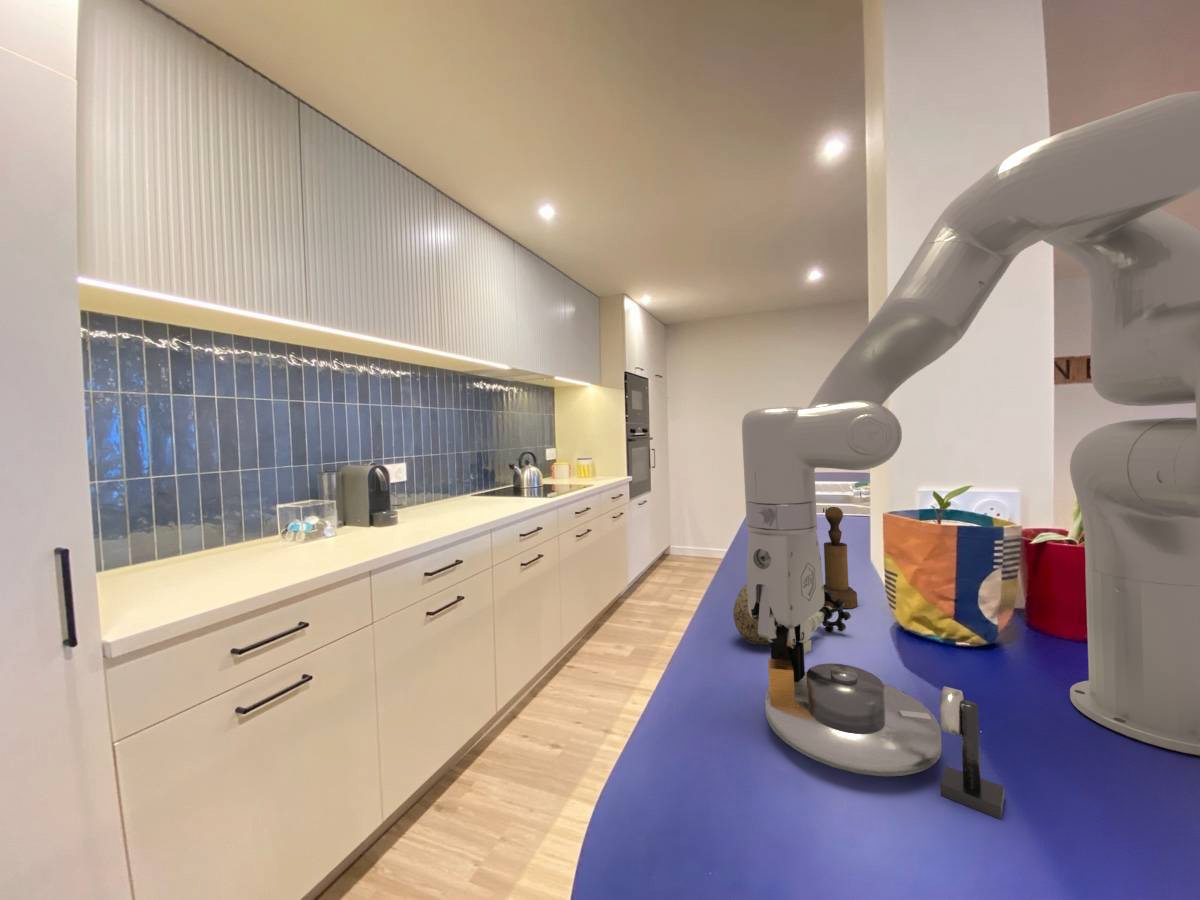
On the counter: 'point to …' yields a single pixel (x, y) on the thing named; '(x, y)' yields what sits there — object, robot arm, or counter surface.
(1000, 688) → the counter surface
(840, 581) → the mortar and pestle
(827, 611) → the valve
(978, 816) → the counter surface
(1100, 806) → the counter surface
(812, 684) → the cover
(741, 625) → the decorative egg
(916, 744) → the turntable
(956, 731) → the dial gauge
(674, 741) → the counter surface
